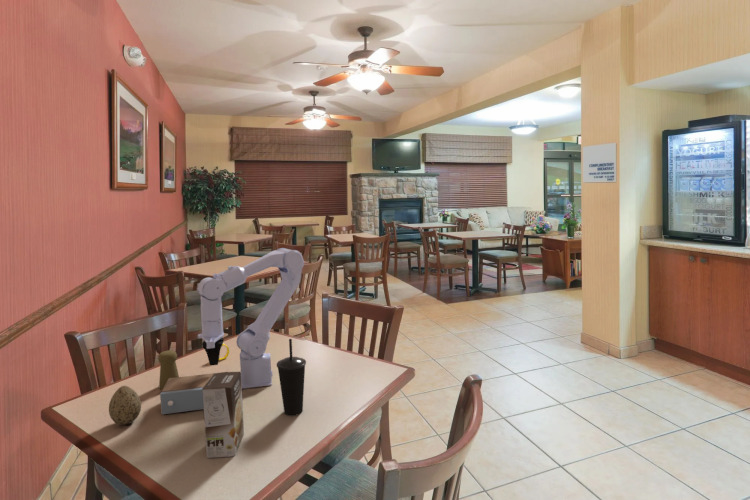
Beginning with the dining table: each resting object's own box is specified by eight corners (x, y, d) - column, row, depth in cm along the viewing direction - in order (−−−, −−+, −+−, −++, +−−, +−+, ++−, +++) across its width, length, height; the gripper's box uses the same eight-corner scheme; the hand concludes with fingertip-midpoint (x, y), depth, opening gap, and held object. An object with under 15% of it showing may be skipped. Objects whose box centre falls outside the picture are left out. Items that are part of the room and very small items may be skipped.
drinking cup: (283, 421, 109) (279, 346, 106) (275, 408, 115) (272, 337, 113) (311, 414, 112) (309, 340, 110) (302, 402, 119) (299, 333, 116)
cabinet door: (227, 403, 118) (226, 384, 117) (227, 408, 115) (225, 388, 115) (162, 412, 114) (161, 392, 113) (160, 417, 111) (158, 396, 111)
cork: (172, 391, 127) (169, 355, 126) (154, 389, 129) (151, 354, 127) (184, 382, 133) (182, 348, 132) (167, 381, 135) (165, 347, 133)
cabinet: (228, 391, 127) (227, 371, 126) (225, 405, 118) (224, 384, 117) (170, 398, 123) (169, 378, 122) (163, 413, 114) (161, 391, 113)
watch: (214, 363, 150) (212, 347, 149) (211, 361, 152) (209, 345, 151) (231, 357, 154) (228, 342, 152) (227, 355, 156) (225, 340, 155)
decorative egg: (145, 423, 109) (142, 386, 108) (113, 433, 104) (109, 395, 103) (138, 413, 114) (135, 377, 113) (107, 422, 110) (104, 385, 108)
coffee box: (235, 456, 94) (231, 387, 92) (206, 458, 93) (201, 389, 92) (244, 434, 103) (241, 370, 101) (217, 435, 103) (213, 372, 101)
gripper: (200, 314, 129) (202, 357, 130) (193, 327, 115) (196, 375, 116) (224, 312, 131) (226, 354, 132) (221, 325, 117) (223, 372, 118)
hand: (214, 364), depth 124 cm, fingers closed
